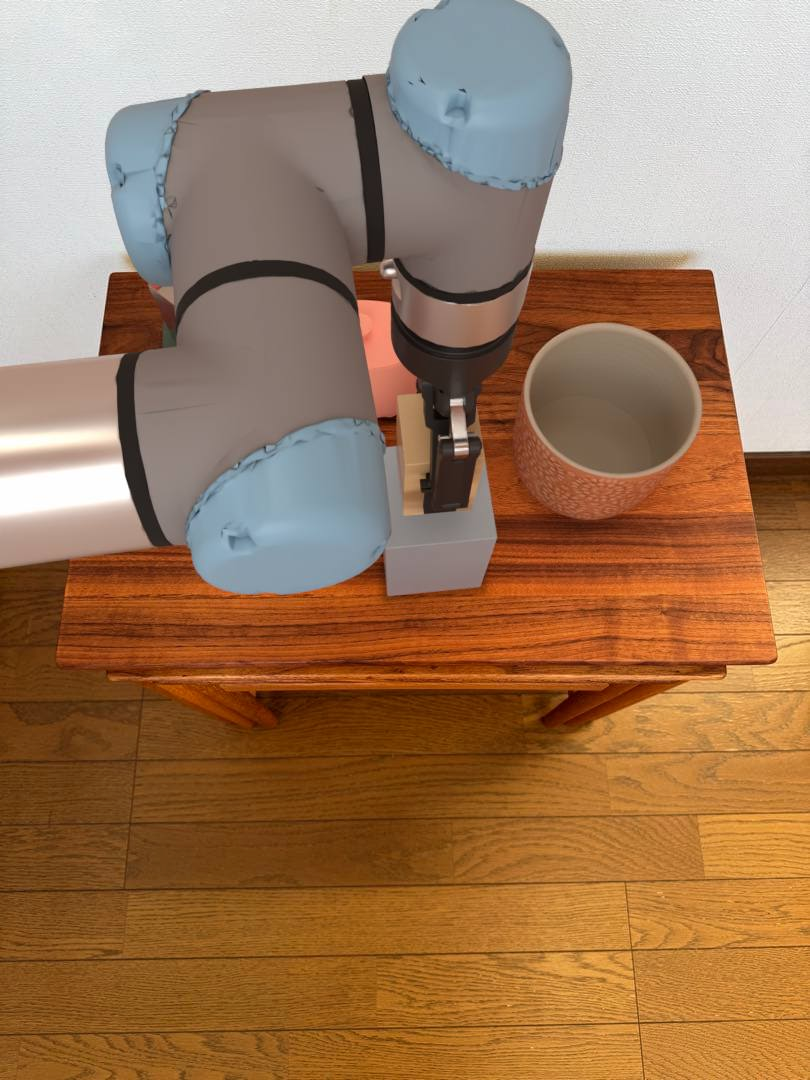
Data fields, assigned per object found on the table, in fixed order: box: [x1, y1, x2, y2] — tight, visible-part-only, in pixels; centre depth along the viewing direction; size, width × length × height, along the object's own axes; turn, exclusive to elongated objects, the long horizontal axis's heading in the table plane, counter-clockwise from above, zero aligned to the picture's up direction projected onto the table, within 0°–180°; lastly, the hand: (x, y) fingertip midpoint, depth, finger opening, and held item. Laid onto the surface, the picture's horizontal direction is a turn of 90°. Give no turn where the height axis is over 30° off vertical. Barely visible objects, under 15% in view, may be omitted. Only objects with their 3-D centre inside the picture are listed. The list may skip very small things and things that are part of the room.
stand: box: [382, 445, 498, 597], centre depth 77 cm, size 10×10×15 cm
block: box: [395, 393, 486, 516], centre depth 63 cm, size 6×6×10 cm
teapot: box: [357, 299, 418, 419], centre depth 85 cm, size 20×12×12 cm, turn 90°
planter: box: [512, 322, 703, 521], centre depth 80 cm, size 17×17×15 cm
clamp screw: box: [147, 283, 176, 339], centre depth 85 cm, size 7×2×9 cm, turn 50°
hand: (434, 472), depth 66 cm, fingers closed on block, 6 cm apart
